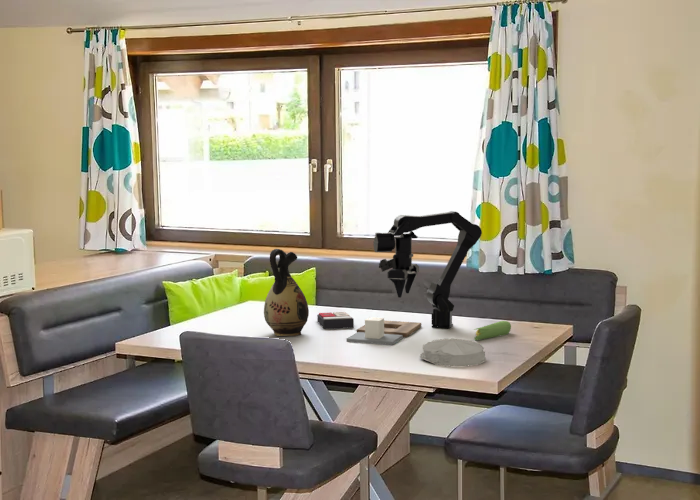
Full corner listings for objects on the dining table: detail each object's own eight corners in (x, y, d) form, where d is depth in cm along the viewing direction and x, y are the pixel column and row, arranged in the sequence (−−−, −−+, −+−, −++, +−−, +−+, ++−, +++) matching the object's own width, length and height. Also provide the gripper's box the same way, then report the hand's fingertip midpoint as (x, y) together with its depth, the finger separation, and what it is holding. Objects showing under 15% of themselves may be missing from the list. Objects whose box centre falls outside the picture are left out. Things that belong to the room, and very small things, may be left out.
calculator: (346, 311, 323) (353, 316, 309) (346, 322, 324) (354, 328, 309) (317, 312, 321) (323, 317, 307) (317, 323, 322) (323, 329, 307)
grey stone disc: (488, 354, 270) (488, 332, 269) (484, 368, 250) (484, 345, 250) (424, 352, 274) (424, 330, 274) (415, 366, 255) (415, 343, 254)
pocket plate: (421, 326, 309) (421, 322, 309) (406, 337, 292) (406, 332, 292) (373, 323, 315) (373, 319, 315) (356, 333, 299) (356, 329, 298)
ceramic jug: (283, 327, 310) (282, 244, 306) (317, 332, 301) (316, 247, 297) (251, 336, 296) (249, 249, 292) (286, 341, 287) (285, 252, 283)
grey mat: (402, 338, 291) (402, 335, 291) (392, 344, 281) (392, 341, 281) (357, 334, 297) (357, 331, 297) (346, 341, 287) (346, 338, 286)
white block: (384, 335, 290) (384, 318, 290) (379, 338, 286) (379, 320, 285) (370, 334, 292) (369, 317, 291) (365, 337, 287) (364, 320, 287)
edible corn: (516, 322, 295) (506, 316, 299) (476, 332, 283) (466, 326, 286) (513, 335, 297) (503, 330, 300) (473, 346, 285) (463, 340, 288)
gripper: (389, 247, 314) (390, 290, 316) (373, 253, 297) (373, 298, 299) (419, 248, 310) (419, 291, 312) (404, 254, 293) (404, 300, 295)
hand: (403, 295), depth 305 cm, fingers open, 9 cm apart
